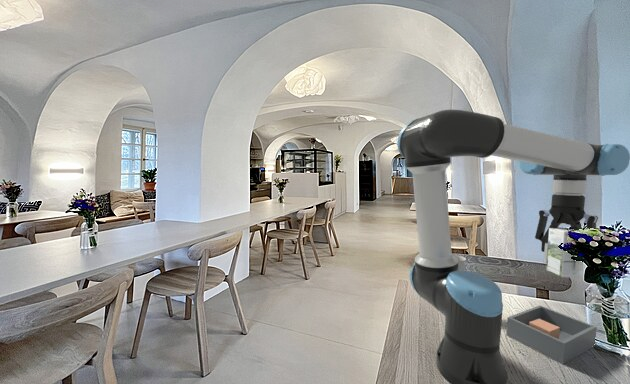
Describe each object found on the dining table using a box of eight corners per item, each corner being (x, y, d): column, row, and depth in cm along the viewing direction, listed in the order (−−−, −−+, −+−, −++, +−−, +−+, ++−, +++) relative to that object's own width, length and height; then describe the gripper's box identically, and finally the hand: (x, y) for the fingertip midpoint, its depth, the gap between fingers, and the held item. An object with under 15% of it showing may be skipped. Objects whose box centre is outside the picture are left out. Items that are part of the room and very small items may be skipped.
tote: (562, 364, 69) (564, 343, 68) (506, 335, 81) (507, 317, 81) (595, 345, 76) (596, 327, 76) (538, 321, 88) (540, 305, 88)
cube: (548, 348, 74) (549, 331, 74) (528, 338, 78) (529, 322, 78) (558, 344, 76) (559, 327, 75) (538, 334, 80) (539, 318, 80)
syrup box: (579, 277, 82) (584, 231, 81) (560, 277, 82) (564, 230, 81) (562, 271, 88) (566, 227, 87) (544, 270, 88) (548, 227, 87)
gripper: (620, 196, 76) (612, 275, 77) (536, 191, 94) (532, 255, 96) (608, 197, 73) (601, 279, 74) (524, 192, 91) (519, 258, 92)
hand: (562, 266), depth 85 cm, fingers closed on syrup box, 7 cm apart
